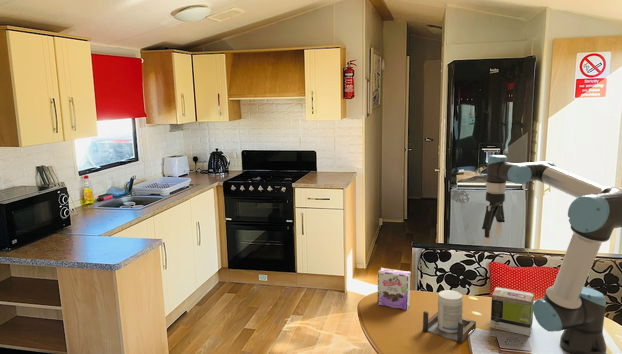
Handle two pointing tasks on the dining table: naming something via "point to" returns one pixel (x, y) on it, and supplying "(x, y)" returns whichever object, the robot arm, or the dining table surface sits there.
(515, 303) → the tea box
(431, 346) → the dining table surface
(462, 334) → the keeper cradle
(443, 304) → the supplement tub
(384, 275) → the candy box
